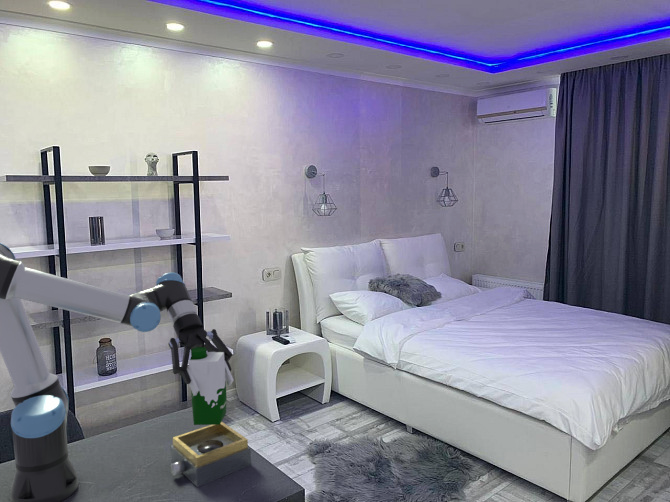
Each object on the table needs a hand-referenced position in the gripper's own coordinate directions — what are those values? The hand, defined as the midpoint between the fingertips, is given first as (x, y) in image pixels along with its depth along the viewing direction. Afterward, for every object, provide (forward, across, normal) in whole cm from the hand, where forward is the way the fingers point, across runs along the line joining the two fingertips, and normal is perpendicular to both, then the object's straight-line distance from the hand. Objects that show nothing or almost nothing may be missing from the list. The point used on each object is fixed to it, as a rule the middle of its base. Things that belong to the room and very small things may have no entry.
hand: (214, 387), depth 140 cm
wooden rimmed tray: (+14, +2, -18) cm, 23 cm away
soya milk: (+5, 0, -9) cm, 11 cm away
